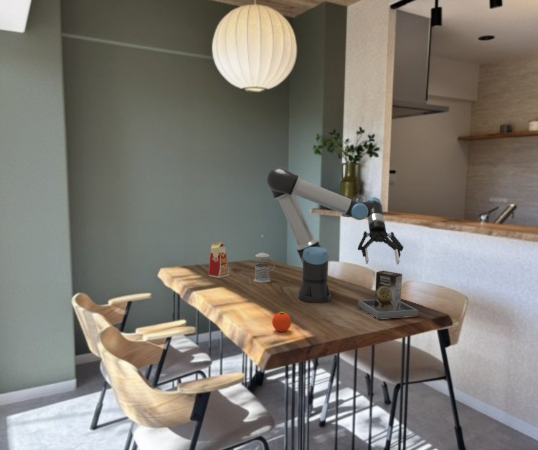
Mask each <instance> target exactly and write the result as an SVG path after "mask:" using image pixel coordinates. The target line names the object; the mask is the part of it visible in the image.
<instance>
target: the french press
mask: <svg viewBox="0 0 538 450" xmlns="http://www.w3.org/2000/svg"><path fill="white" fill-rule="evenodd" d="M260 238H261V239H264V238H265V236H264V235H261V236H260ZM261 243H262V247H261V249H262V252H259V253H257V254H255V255H254V256H255V257H256V258H259V259H261V261H257V262H255V265H254V270H255V271H254V272H255V274H254V279H253V282H255V283H270V282H271V281H272V280H271V279H270V273H271V272H273V270H274V269H275V267H276V266H275V265H276V264H275V261H274V259H272V258H271V257H270V254H268V253H266V252H264V247H263V246H264V241H262V242H261ZM264 258H265V259H266V258H267V259H269V260H268V261H269V262H270V261H272V262H273V268H272V269H270V265H269V264H270V263H269V262H268V261H263V259H264Z"/></svg>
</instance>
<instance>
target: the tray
mask: <svg viewBox="0 0 538 450" xmlns="http://www.w3.org/2000/svg"><path fill="white" fill-rule="evenodd" d="M357 307H358V308H359V307H360V308H361V309H360V308H359V309H360V310H362V309H363V310H364V311H363V310H362V311H363V312H365V311H366V312H368V313H369V314H371V315H373V316H374V317H376V318H377V319H381V318H393V317H404V316H413V315H418V316H419V309H417V308H416V307H413V306H411V305H409V304H407V303H405V302H403V301H401V302H400V311H385V312H384V311H380V310H376V309H375V299H361V300H360V299H359V300H357ZM366 312H365V313H366ZM368 313H367V314H368ZM369 314H368V315H369ZM371 315H370V316H371ZM374 317H373V318H374ZM377 319H376V320H377Z"/></svg>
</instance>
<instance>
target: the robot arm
mask: <svg viewBox="0 0 538 450" xmlns="http://www.w3.org/2000/svg"><path fill="white" fill-rule="evenodd" d="M266 183H267V186H268V187H269V189H270V192H271V193H272V196H273V199H275V200H277V201H278V202H279V205H280V207H281V209H282V211H283V214H284V216H285V218H286V222H287V224H288V226H289V228H290V230H291V233H292V235H293V237H294V239H295V241H296V243H297V247H296V252H297V254H298V256H299V259H300V261H301V263H302V281H301V285H300V286H299V287H300V288H299V291H298V299H299V300H300V301H303V302H305V303H316V304H317V303H327V302H330V301H331V299H332V298H331V297H332V294H331V290H330V286H329V283H328V279H329V278H328V277H329V274H328V272H329V259H330V258H329V256H330V255H329V252H328V250H327V249H326V248H323V247H322V246H321V244H320V241H319V240H318V239H317V238H314V235H313V233H312V230H311V228H310V225H309V224H308V220H307V219H306V217H305V215H304V212H303V209H302V207H301V205H300V203H299V200H298V197H301V198H303V199H305V200H307V201H310V202H313V203H315V204H317V205H321V206H323V207H325V208H328V209H330V210H333V211H335V212H337V213H341V216H342V217H346V218H352V219H354V220H356V221H363V220H364V219H366V218H367V223H368V224H367V225H368V230H369V232H367V231H366V230H364V232H363V234H362V235H363V236H362V238H361V239H360V241H359V244H358V246H357V250H358V251H361V253H362V258H364V259H365V264H369V260H370V259H369V254H368V253H369V252H368V249H369V248H368V247H370V245H372V244H373V243H374V242H375V243H384V244H386V245H388V246H389V248H390V249H392V250H393V251H394V257H395V264H396V265H399V264H400V262H401V261H400V257H401V255H402V253H401V252H403V249H404V246H403V244H402V243H401V242H400V240H399V239H397V237H396V235H395V234H394V232H393V231H391V232H390V233H388V232H387V228H386V224H385V223H386V222H385V218H384V212H383V205H382V202H381V200H380V198H378V197H376V196H372V197H369V198H367V199H366V200H365V201H356V200H354V199H351V198H348V197H346V196H344V195H341V194H340V193H337V192H334V191H331V190H329V189H327V188H324V187H321V186H320V185H316V184H314V183H311V182H309V181H307V180H304V179H301V176H300V175H297V174H295V173H293V172H291V171H290V170H288V169H287V168H285V167H281V166H277V167H274V168H272V169H270V171H269V172H268V173H267V175H266ZM368 237H369V239H368V240H367V242H366V243H365V241H366V239H367V238H368ZM364 243H365V244H364Z"/></svg>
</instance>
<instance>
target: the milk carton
mask: <svg viewBox="0 0 538 450" xmlns="http://www.w3.org/2000/svg"><path fill="white" fill-rule="evenodd" d="M209 254H210V255H209V264H208V265H209V266H208V277H211V278H212V277H213V278H217V279H221V278H224V277H228V276H230V267H229V260H228V257H227V250H226V246H225V245H224V243H223V241H219V242H211V247H210V253H209Z"/></svg>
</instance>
